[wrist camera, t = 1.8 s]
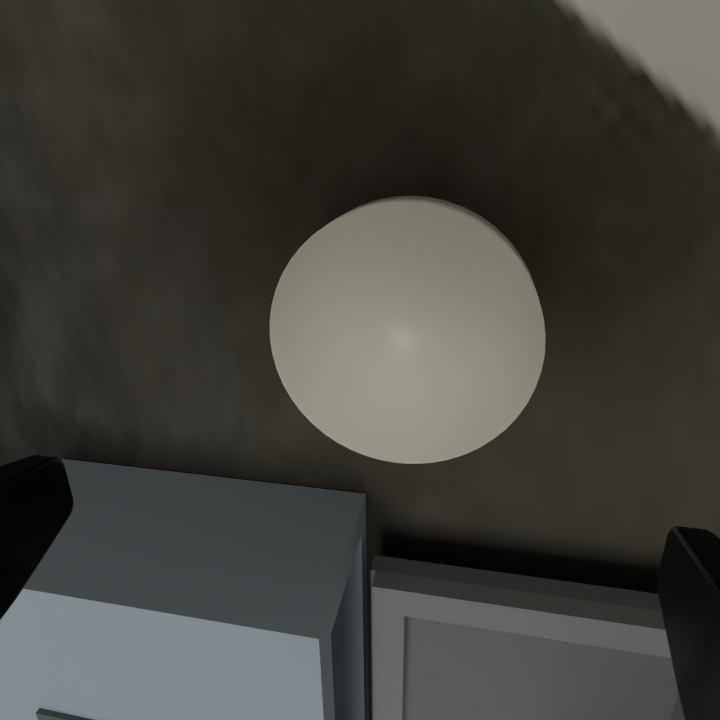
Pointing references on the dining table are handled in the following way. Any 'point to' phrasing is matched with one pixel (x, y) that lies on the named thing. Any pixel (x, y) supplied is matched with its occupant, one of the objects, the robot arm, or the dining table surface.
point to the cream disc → (408, 330)
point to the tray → (514, 647)
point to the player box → (192, 603)
